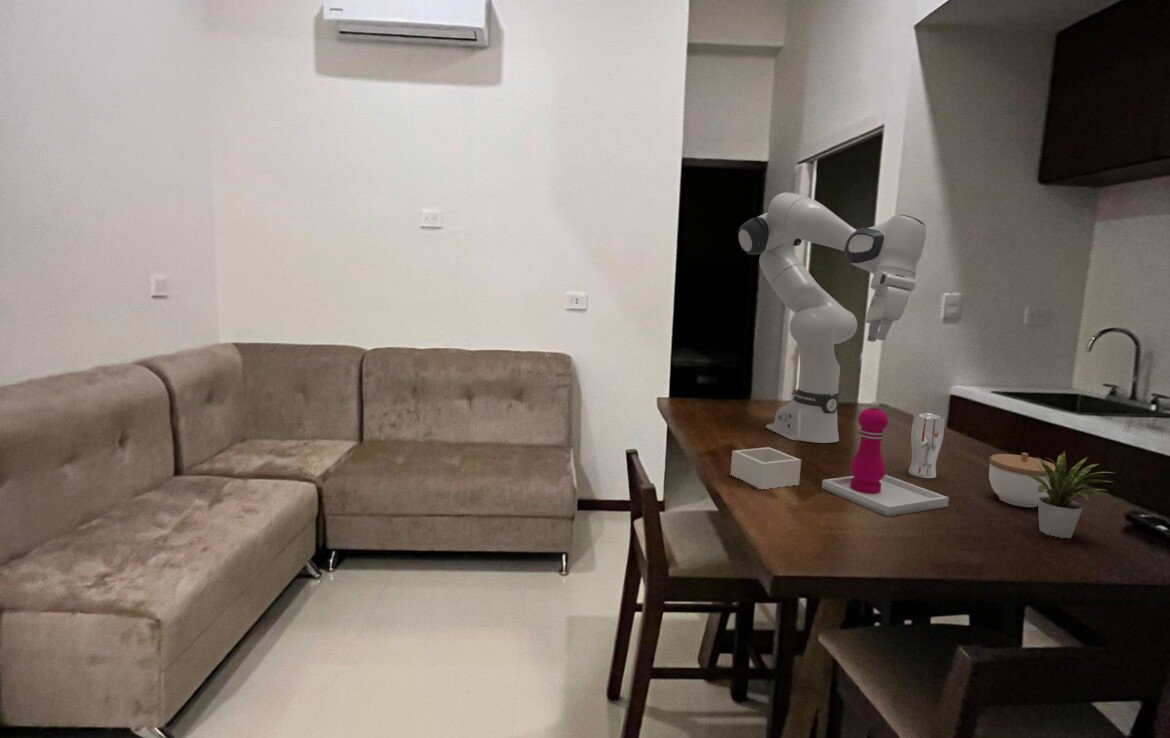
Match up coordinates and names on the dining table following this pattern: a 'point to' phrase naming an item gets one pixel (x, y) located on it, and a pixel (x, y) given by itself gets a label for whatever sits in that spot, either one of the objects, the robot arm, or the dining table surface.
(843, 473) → the dining table surface
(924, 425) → the beer glass
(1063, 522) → the house plant
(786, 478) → the open rectangular box
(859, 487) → the pepper mill
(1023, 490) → the lidded bowl
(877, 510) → the tray
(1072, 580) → the dining table surface
